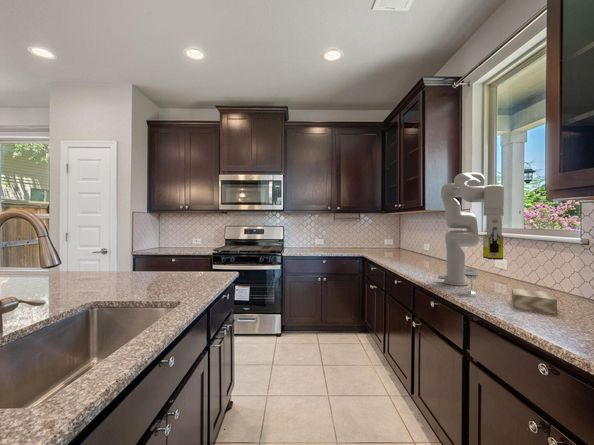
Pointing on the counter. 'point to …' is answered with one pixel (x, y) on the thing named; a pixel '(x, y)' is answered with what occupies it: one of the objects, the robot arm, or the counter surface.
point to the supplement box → (486, 248)
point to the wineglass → (471, 277)
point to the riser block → (534, 300)
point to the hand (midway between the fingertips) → (492, 251)
